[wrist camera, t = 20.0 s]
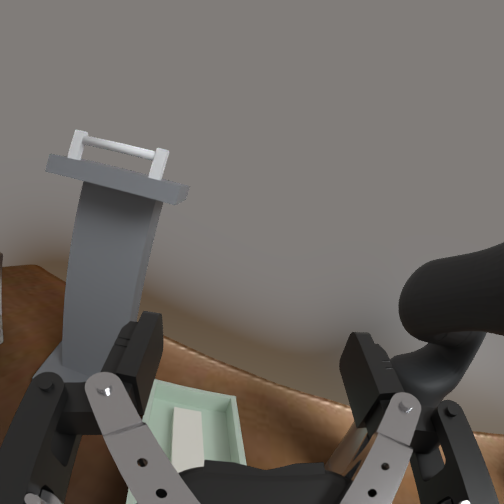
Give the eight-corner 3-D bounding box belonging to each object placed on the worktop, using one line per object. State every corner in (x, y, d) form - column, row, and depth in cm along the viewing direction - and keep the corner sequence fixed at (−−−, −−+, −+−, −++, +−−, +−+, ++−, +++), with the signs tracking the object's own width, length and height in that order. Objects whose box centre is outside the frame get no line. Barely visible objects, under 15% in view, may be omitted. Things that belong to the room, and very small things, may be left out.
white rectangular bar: (199, 418, 40) (201, 411, 40) (209, 547, 19) (212, 543, 18) (172, 413, 39) (174, 406, 39) (170, 543, 18) (171, 539, 18)
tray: (228, 413, 44) (235, 396, 43) (250, 562, 18) (263, 552, 17) (148, 397, 42) (152, 378, 41) (121, 548, 15) (120, 537, 15)
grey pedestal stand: (146, 372, 48) (196, 164, 42) (132, 421, 35) (190, 155, 29) (63, 345, 45) (96, 140, 39) (32, 385, 32) (57, 126, 26)
